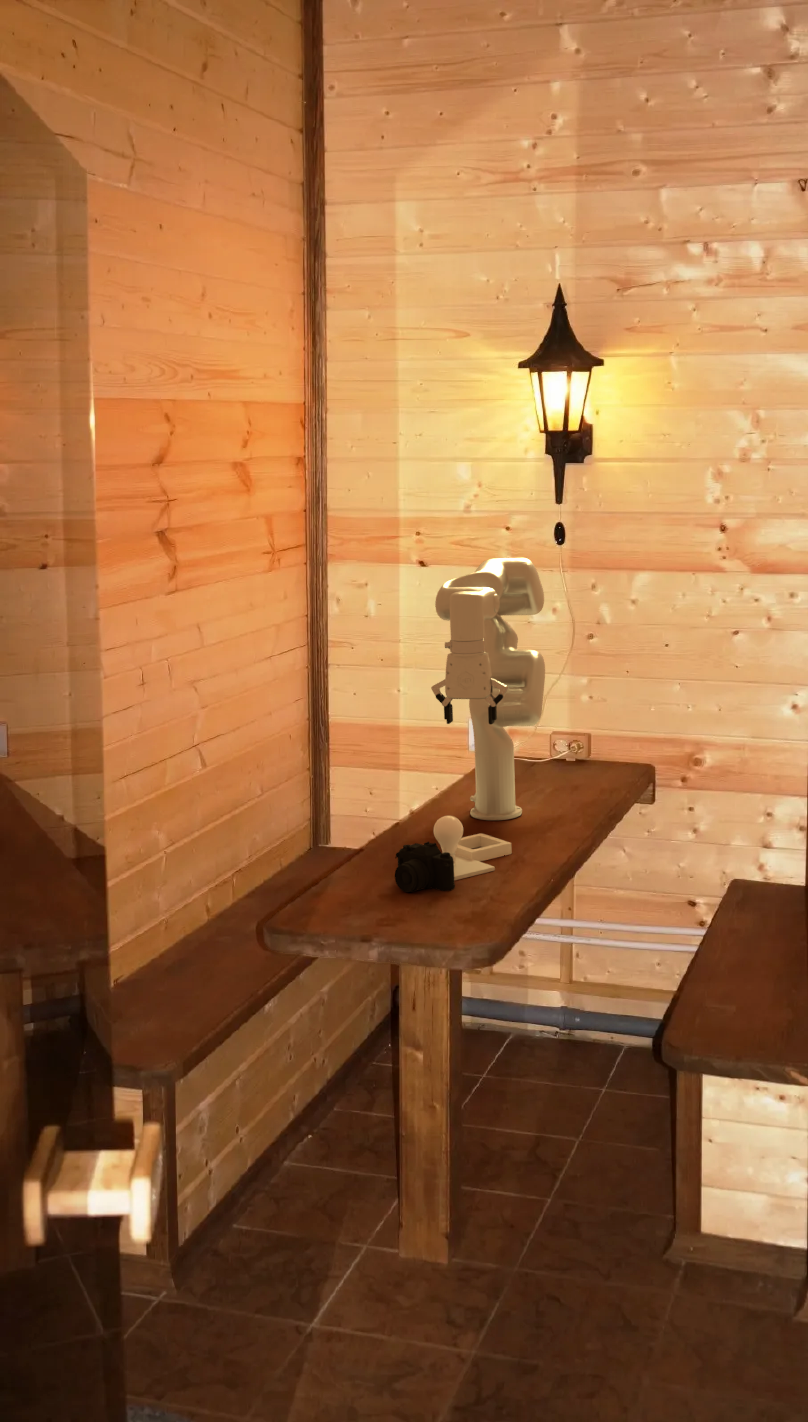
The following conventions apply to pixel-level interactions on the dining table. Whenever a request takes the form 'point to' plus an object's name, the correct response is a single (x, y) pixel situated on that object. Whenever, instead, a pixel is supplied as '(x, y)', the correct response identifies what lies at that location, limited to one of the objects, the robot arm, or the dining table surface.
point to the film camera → (424, 868)
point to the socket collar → (489, 847)
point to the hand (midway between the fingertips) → (470, 723)
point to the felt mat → (469, 867)
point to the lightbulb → (448, 834)
